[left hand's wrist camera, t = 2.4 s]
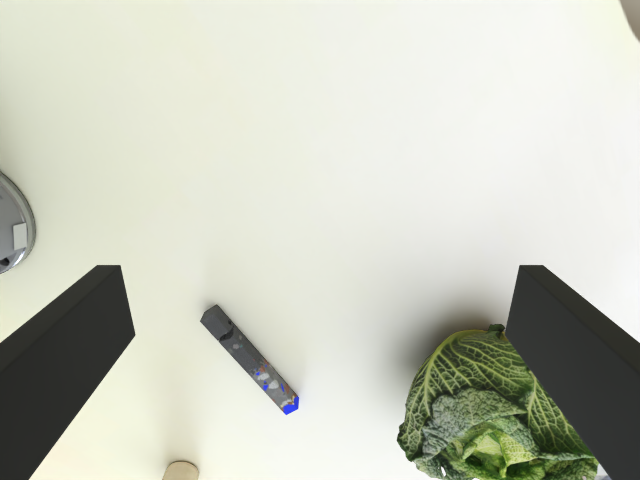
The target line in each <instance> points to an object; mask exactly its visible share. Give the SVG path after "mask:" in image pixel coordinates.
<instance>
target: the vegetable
mask: <svg viewBox="0 0 640 480" xmlns="http://www.w3.org/2000/svg"><path fill="white" fill-rule="evenodd" d="M504 329H505V327H504V326H503V325H502V324H495V325H490V327H489V330H488V331H483V330H477V329H472V330H463V331H459V332H455V333H453V334H452V335H450V336H449V337H448V338H447V339H446V340H444V341H443V342H442V343H441V344H440V345H439V346H438V347H437V348H436V350H435V352H434V353H433V354H431V355H430V356H429V357H427V359H426V360H425V362H424V363H423V365H422V366H421V367H420V369H419V371H418V372H417V374H416V376H415V378H414V380H413V382H412V385H411V388H410V391H409V395H408V398H407V402H406V404H405V405H406V414H405V422H404V423H402V424H401V425H400V426H399V431H400V432H399V434H398V437H397V442H398V444H399V445H400V447H401V449H403V450H404V451H405V453H406V457H407V459H408V460H409V461H411V462H412V461H414V463H415V464H416V467H417V469H418V470H420V471H422V472H425V473H426V474H427V475H428V476H429V477H431V478H439V479H442V480H472V479H473V478H478V479H480V480H583V478H582V476H585V477H586V480H594V478H595V476H596V475H597V470H598V465H599V462H598V461H597V460H596V458H595V457H594V456H593V454H592V453H591V451H590V450H589V449H588V447H587V446H586V445H585V443H584V442H583V441H582V439H581V438H580V437H579V435H578V434H577V433H576V431H575V430H574V428H573V427H572V426H571V424H570V423H569V422H568V420H567V419H566V418H565V416H564V415H563V414H562V412H561V411H560V410H559V408H558V407H557V405H556V404H555V403H554V401H553V400H552V399H551V397H550V396H549V395H548V393H547V392H546V391H545V389H544V388H543V387H542V385H541V384H540V382H539V381H538V380H537V378H536V377H535V376H534V374H533V373H532V372H531V370H530V369H529V368H528V366H527V365H526V364H525V362H524V361H523V359H522V358H521V357H520V355H519V354H518V353H517V351H516V350H515V349H514V347H513V346H512V345H511V343H510V342H509V341H508V339H507V338H506V337H505V332H504V331H503V330H504ZM441 466H442V467H443V468H444V470H445V472H446V476H445V477H443V474H442V471H441ZM438 467H439V469H438Z"/></svg>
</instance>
